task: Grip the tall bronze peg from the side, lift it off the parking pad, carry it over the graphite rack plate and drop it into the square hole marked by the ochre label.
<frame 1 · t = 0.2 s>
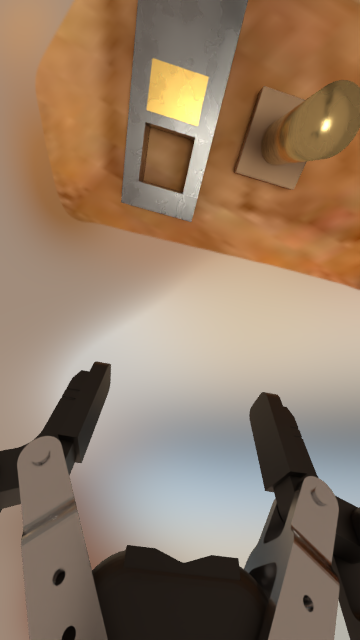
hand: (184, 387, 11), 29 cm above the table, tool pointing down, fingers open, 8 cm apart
peg: (280, 142, 26), point 2 cm above the table, touching parking pad
rack plate: (174, 123, 27), on the table
parking pad: (275, 144, 28), on the table
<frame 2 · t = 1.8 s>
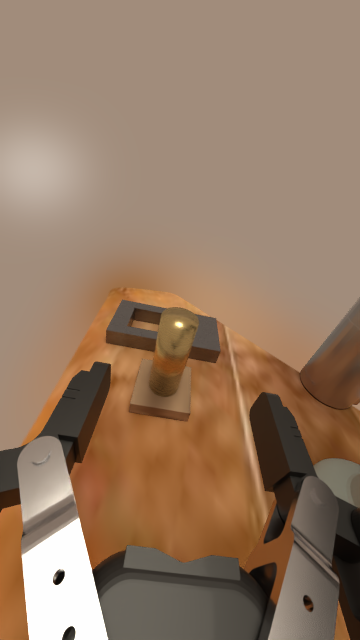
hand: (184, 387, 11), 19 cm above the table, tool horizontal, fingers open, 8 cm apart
peg: (164, 383, 32), point 2 cm above the table, touching parking pad
air freshener: (342, 526, 24), on the table
rack plate: (165, 335, 43), on the table
parking pad: (161, 391, 33), on the table
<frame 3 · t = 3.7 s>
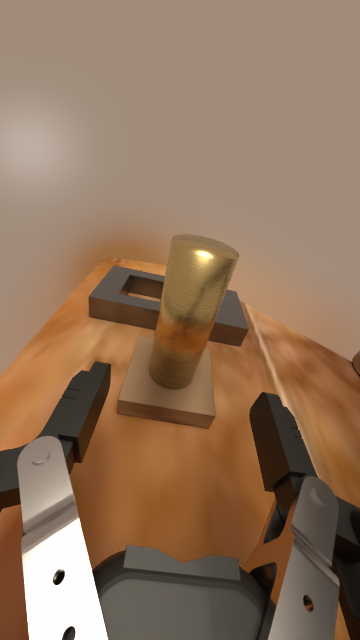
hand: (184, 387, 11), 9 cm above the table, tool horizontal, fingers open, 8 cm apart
peg: (171, 370, 21), point 2 cm above the table, touching parking pad
rack plate: (170, 311, 32), on the table
parking pad: (168, 383, 22), on the table
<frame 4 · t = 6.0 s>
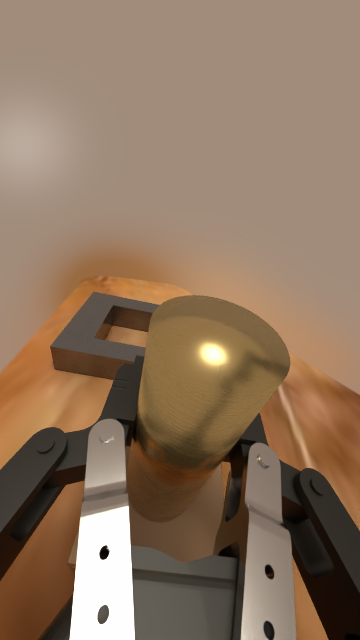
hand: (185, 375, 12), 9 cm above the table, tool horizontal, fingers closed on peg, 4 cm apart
peg: (161, 476, 14), point 2 cm above the table, touching gripper, parking pad
rack plate: (164, 351, 25), on the table
parking pad: (157, 487, 15), on the table
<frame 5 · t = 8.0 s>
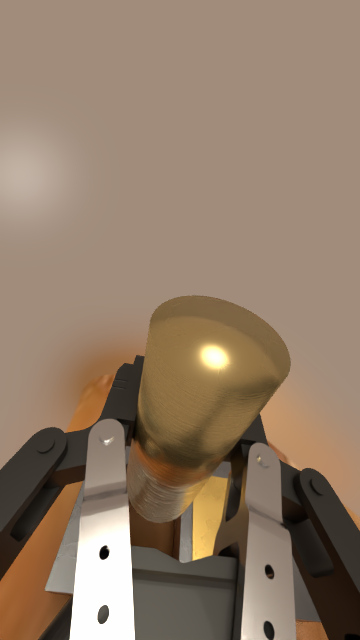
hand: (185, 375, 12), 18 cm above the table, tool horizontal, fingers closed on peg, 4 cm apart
peg: (161, 476, 14), point 11 cm above the table, touching gripper
rack plate: (185, 521, 21), on the table
when the fingers open (11 cm above the table, at t = 10.0 s): peg drops 4 cm, resting in rack plate.
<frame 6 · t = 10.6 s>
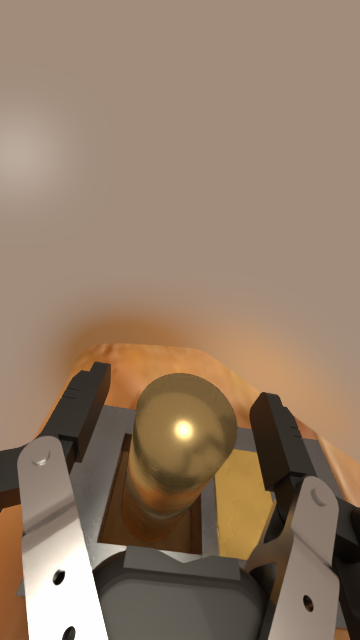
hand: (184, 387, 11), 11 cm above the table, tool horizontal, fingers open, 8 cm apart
peg: (152, 500, 16), resting in rack plate
rack plate: (203, 505, 17), on the table
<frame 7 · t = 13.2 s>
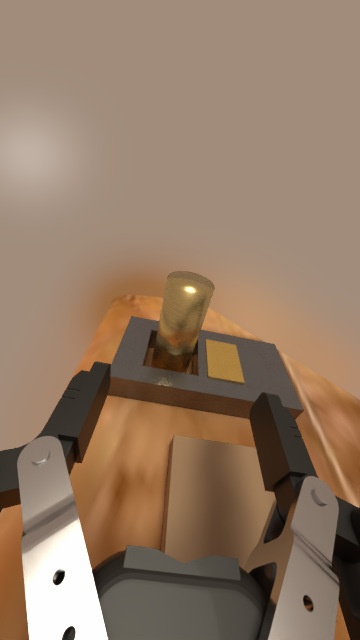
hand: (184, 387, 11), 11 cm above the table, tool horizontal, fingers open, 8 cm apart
peg: (168, 368, 27), resting in rack plate
rack plate: (200, 373, 27), on the table
parking pad: (216, 507, 17), on the table
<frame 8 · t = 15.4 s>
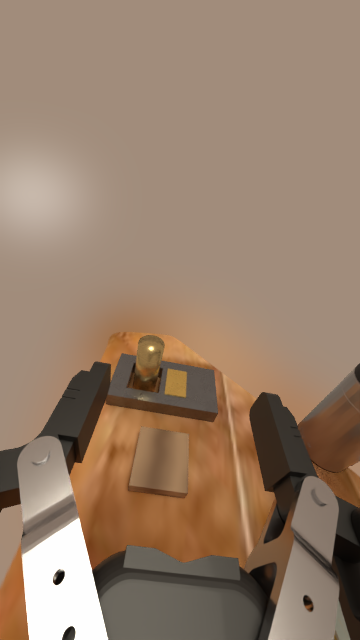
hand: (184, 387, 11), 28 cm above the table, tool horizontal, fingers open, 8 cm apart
peg: (144, 387, 44), resting in rack plate
air freshener: (335, 618, 25), on the table
rack plate: (163, 390, 44), on the table
parking pad: (160, 462, 34), on the table
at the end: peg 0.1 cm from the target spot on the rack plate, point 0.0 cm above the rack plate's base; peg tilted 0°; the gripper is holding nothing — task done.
